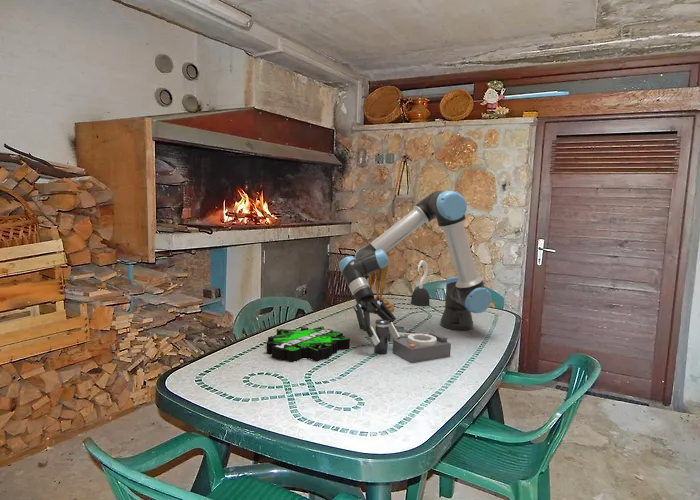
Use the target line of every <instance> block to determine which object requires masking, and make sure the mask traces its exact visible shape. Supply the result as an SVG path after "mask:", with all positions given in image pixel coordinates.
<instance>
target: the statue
mask: <svg viewBox="0 0 700 500" xmlns="http://www.w3.org/2000/svg"><path fill="white" fill-rule="evenodd" d="M383 233H384V231H383V230H381V229H380V230H378V231H377V236H376V237H377V238H378V237H379V236H380V235H381V234H383ZM394 247H395V246H394ZM394 247H392V248H391V249H390V250H389V251H387V252H386V255H387V257H391V256H392V254H394V251H395V249H394ZM388 269H389V264H388V265H387V266H386V267H384V268H382V269H379V270H377V271H375V272H372V273H370V274H368V284H369V286H370V287H369V288H371V290H372V289H373V287H372V286H373V285H375V290H376V297H374V298H375V300H377V301H380V300H381V299H382V300H383V302H384V304H385V305H386V307H387V308H388V309H389V310H390V312H391V313H394V311H395V307H394V306H392V303H391V302H390V301H389V300H388V299H385V298H382V297H383V295H384V290H385V288H386V287H385V286H386V285H385V283H386V277H387V274H388ZM372 291H373V290H372ZM376 310H377V309H376ZM370 314H375V313H374V312H370Z"/></svg>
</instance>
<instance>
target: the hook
mask: <svg viewBox="0 0 700 500" xmlns="http://www.w3.org/2000/svg"><path fill="white" fill-rule="evenodd" d="M422 265H423V275H422V277H421V278H420V280H419V285H418V287H417V288H415V289H414V290H413V291H412V294H411V300H410V306H411V307H414V306H415V307H414V308H422V307H424V308H429V307H430V293H429V291H428V290H427V289H426V288H424V285H423V284H424V282H425V281H426V279H427V277H428V272H429V271H428V270H429V267H428V262H427V261H426V260H424V259H421V260H420V261H419V262H418V265H417V273H419V272H420V268H421V266H422ZM428 306H429V307H428Z"/></svg>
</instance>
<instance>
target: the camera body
mask: <svg viewBox="0 0 700 500" xmlns="http://www.w3.org/2000/svg"><path fill="white" fill-rule="evenodd" d="M419 333H420V332H419ZM419 333H416V334H410V335H408V338H401V339H394V340H393V342H392V353H393V354H394V355H396V356H399V358H401V359H403V360H405V361H407V362H409V363H410V364H413V363H420V362H425V361H430V360H431V361H432V360H436V359H441V358H447V357H448V358H449V357H451V350H452V343H451V342H448V337H446V336H444V335H442V334H440V333H437V332H434V331H433V332H432V331H431V332H428V333H429V335H428V334H419Z"/></svg>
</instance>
